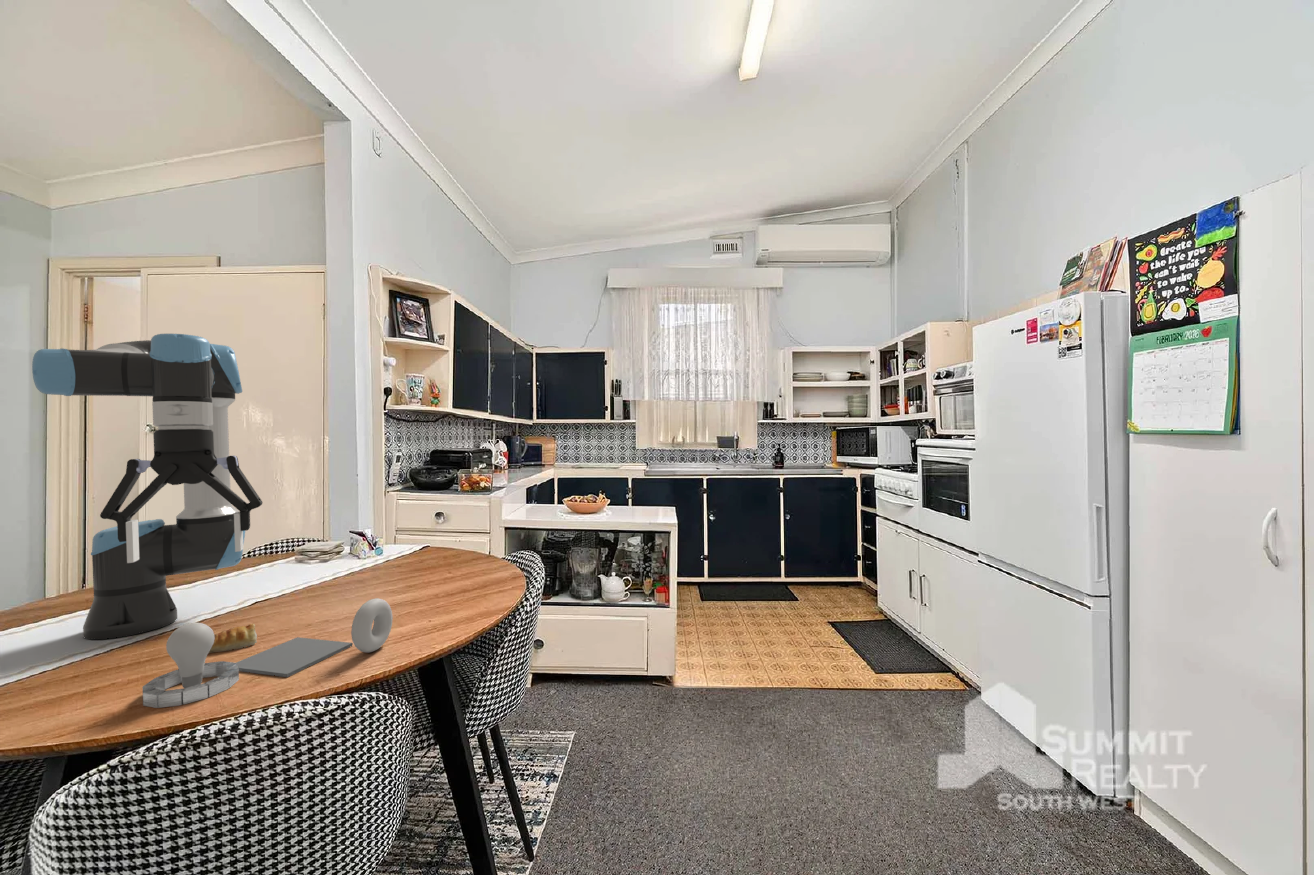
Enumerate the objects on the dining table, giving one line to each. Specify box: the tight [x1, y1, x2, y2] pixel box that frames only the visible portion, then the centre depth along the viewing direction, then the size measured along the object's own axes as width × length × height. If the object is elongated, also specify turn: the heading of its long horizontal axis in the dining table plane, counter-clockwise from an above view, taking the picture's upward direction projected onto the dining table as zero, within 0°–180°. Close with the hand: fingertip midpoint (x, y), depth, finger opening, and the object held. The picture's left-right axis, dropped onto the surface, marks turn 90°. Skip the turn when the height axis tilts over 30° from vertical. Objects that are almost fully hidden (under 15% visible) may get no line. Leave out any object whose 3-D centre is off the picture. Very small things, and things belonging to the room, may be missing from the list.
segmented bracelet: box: [142, 660, 240, 709], centre depth 90 cm, size 12×12×2 cm
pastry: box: [208, 623, 258, 654], centre depth 108 cm, size 9×7×4 cm
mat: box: [235, 636, 354, 678], centre depth 102 cm, size 14×14×1 cm
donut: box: [350, 597, 393, 654], centre depth 104 cm, size 10×4×10 cm, turn 173°
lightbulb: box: [165, 622, 215, 689], centre depth 90 cm, size 6×6×11 cm
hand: (188, 555), depth 90 cm, fingers open, 13 cm apart
